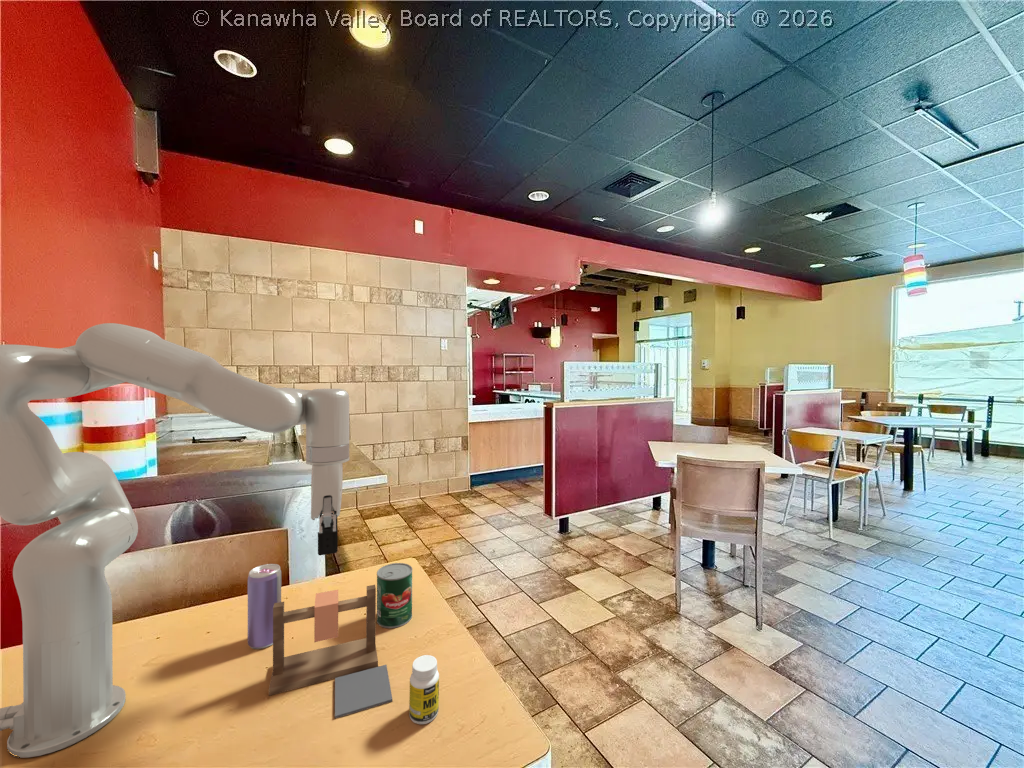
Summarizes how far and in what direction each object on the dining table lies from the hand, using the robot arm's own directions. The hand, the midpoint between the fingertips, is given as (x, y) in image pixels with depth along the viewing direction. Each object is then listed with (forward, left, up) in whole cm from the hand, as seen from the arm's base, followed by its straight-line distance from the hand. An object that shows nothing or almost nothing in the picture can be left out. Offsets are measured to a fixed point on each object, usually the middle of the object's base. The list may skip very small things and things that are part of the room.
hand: (328, 543), depth 77 cm
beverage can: (-12, +13, -24) cm, 30 cm away
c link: (0, 0, -17) cm, 17 cm away
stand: (0, 0, -24) cm, 24 cm away
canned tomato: (+14, +11, -24) cm, 30 cm away
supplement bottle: (+15, -18, -24) cm, 33 cm away
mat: (+6, -9, -24) cm, 26 cm away
